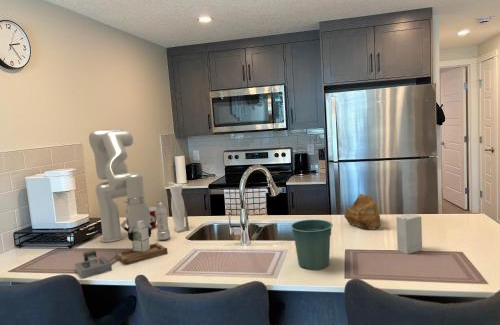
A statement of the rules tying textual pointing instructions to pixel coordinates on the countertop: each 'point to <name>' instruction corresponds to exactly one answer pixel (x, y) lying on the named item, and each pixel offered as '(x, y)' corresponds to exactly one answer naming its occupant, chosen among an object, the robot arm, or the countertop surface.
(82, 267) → the socket
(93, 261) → the grey angular block
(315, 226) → the flower pot
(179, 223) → the skyscraper
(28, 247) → the countertop surface
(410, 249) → the skincare box
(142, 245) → the syrup box
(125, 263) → the wooden tray
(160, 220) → the plastic bottle
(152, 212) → the plastic cup
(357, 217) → the rough brown rock
